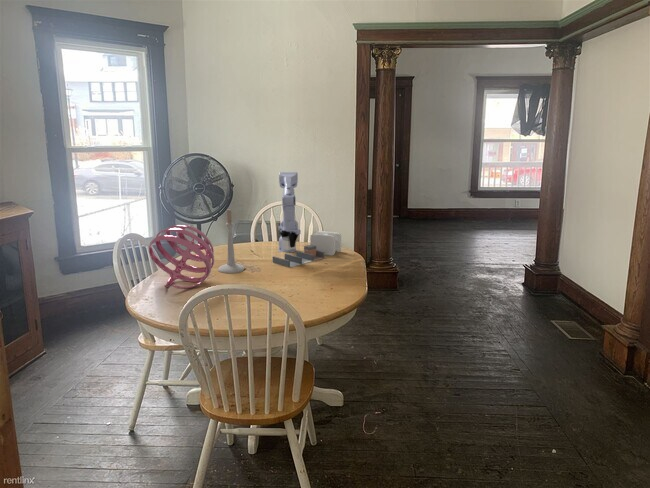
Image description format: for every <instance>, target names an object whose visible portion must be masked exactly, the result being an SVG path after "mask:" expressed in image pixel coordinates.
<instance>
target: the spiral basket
mask: <svg viewBox="0 0 650 488" xmlns="http://www.w3.org/2000/svg"><path fill="white" fill-rule="evenodd" d="M186 229H187V230H186ZM189 230H191V231H192V232H191V231H189ZM172 232H173V233H174V232H175V233H177V236H176V235H172ZM193 232H195V233H197V234H198V235H199V236H201V237H203V238H204V239H202V238H201V237H199V236H198V235H197V234H195V233H193ZM163 233H165V234H163ZM162 234H163V235H162ZM186 236H188V238H189V237H190V238H191V239H192V240H191V241H190V240H189V239H188V238H187V237H186ZM161 241H166V243H168V245H169V246H170V247H171V249H172V250H173V251H175V252H176V253H177V254H179V255H180V256H181V259H180V260H178V259H176V258H175V257H174V256H172V255H171V254H170V253H168V251H167V250H166V249H165V248H164V246H163V245H162V242H161ZM195 241H196V242H197V243H195ZM153 244H155V246H156V249H157V250H158V251H159V254H161V255H162V256H163V258H164V259H166V260H167V261H168V262H170V263H171V264H172V265H174V266H175V269H172V268H169V267H168V266H166V265H165V264H164V263H163V262H162V261H161V260H160V259H159V258H158V257H157V255H156V254H155V252H154V250H153ZM177 244H179V245H181V246H183V247H185V248H187V249H185V250H184V249H183V248H181V247H180V246H179V245H177ZM191 251H192V252H193V253H195V254H193V253H192V252H191ZM203 251H205V253H204V252H203ZM214 251H215V250H214V246H213V244H212V242H211V240H210V239H209V238H208V237H207V235H206V234H205V233H204V232H202V231H201V229H198V228H196V227H194V226H190V225H187V224H185V225H184V224H175V225H171V226H169V227H166V228H164V229H162V230H160V231H159V232H158V233H157V234H156V235H155V237H154V238H153V239H152V240H151V241H150V243H149V245H148V252H149V257H150V258H151V259H152V261H153V263H154V264H156V265H157V266H158V267H159V268H160V269H161V270H162V271H163V272H165V273H166V274H168V275H169V279H168V281H167V282H166V283H165V284H164V287H165V288H169V287H170V286H172V288H175V289H179V290H190V289H193V288H196V287H198V286H199V285H201V284H202V283H203V282H204V281H205V280H206V279H207V278H208V277H209V276H210V274H211V272H212V269H213V267H214V265H215V253H214ZM188 260H191V261H195V262H201V263H202V262H203V263H204V265H205V266H202V267H197V266H193V265H188V264H187V261H188ZM182 271H186V272H191V273H197V274H200V273H201V274H202V273H204V274H203V276H202V277H192V276H191V277H190V276H187V275H185V274H184V275H183V274H181V272H182ZM176 280H181V281H184V282H188V281H189V282H190V283H195V284H193V285H190V286H179V285H176V284H173V283H175V281H176Z"/></svg>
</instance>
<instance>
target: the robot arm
mask: <svg viewBox="0 0 650 488" xmlns="http://www.w3.org/2000/svg"><path fill="white" fill-rule="evenodd" d="M278 180H279V181H278V183H279V187H280V188H281V189H282V197H281V205H282V211H283V212H282V215H283V216H282V218H283V219H282V220H281V221H280V225H278V231H279V235H280V237H279V238H278V250H277V252H278V253H280V252H284V253H294V252H295V253H296V251H297V248H296V249H291V250H286V249H283V237H286V236H289V239H290V246H291V247H295V243H296V244H297V240H298V237H299V235H301V234H302V233H301V229H299V223H298V221H297V220H296V211H295V210H296V204H297V203H296V202H297V201H296V200H297V199H296V194H295V188H297V186H298V183H299V181H298V180H299V179H298V172H297V171H285V172H284V171H283V172H282V171H279V173H278Z"/></svg>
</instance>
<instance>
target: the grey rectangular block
mask: <svg viewBox="0 0 650 488" xmlns="http://www.w3.org/2000/svg"><path fill="white" fill-rule="evenodd" d="M283 249H286V250H291V249H296V250H297V242H296V243H295V247H291V246H290V239H289V236H286V237H283Z"/></svg>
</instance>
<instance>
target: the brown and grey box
mask: <svg viewBox="0 0 650 488" xmlns="http://www.w3.org/2000/svg"><path fill="white" fill-rule="evenodd" d="M303 252H304V253H308V254H312V255H313V258H314V257H316V246H315V245H310V244H308V245H304V246H303Z"/></svg>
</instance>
